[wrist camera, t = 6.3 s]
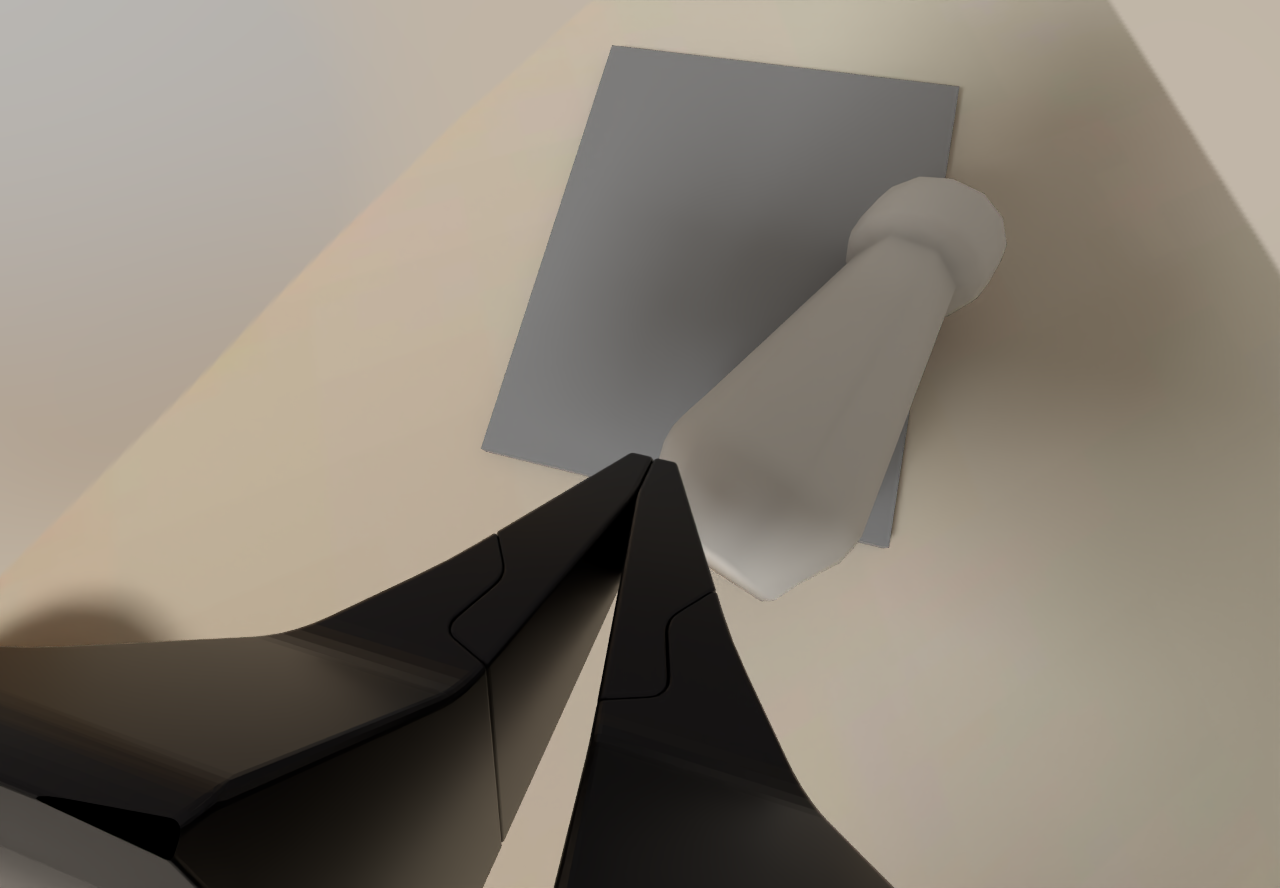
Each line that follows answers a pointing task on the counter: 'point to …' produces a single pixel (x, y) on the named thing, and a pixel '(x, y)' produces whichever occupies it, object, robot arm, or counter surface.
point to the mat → (699, 243)
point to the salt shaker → (831, 391)
